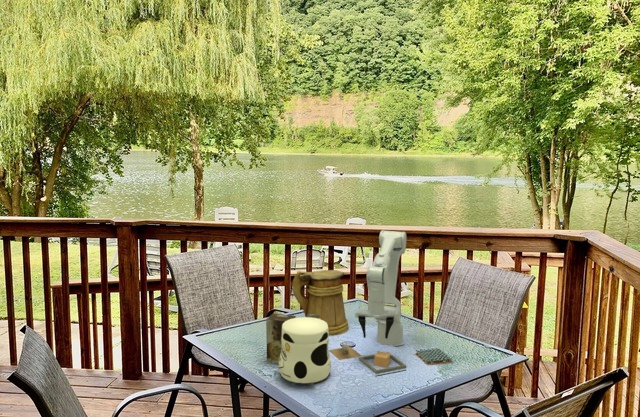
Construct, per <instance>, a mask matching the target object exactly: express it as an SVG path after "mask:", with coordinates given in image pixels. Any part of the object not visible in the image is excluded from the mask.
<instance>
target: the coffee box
mask: <svg viewBox="0 0 640 417" xmlns="http://www.w3.org/2000/svg"><path fill="white" fill-rule="evenodd" d="M293 318H297V317H296V315H290V314H282V313H272V314H270V315H269V316H267V318H265V326H266V328H265V329H266V330H265V331H266V362H267V363H271V364H272V363H273V364H276V365H277V364H278V365H279V358H280V354H281V349H282V342H281V337H282V325H283V323H284V322H285V321H287V320H289V319H293Z"/></svg>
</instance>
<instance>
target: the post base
mask: <svg viewBox="0 0 640 417" xmlns="http://www.w3.org/2000/svg"><path fill="white" fill-rule="evenodd" d="M328 351H329V353H331V354H332V355H334V357H335V358H337V359H338V360H339V361H342V360H346V359H352V358H353V359H354V358H359V357H362V355H361V354H360V353H359V352H357V350H355V349H354V348H353V347H352V346H349V345H348V344H342V345H341V348H334V349H328Z"/></svg>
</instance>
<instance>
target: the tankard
mask: <svg viewBox="0 0 640 417" xmlns="http://www.w3.org/2000/svg"><path fill="white" fill-rule="evenodd" d="M344 275H345V272H344V271H341V270H337V269H324V270H316V271H315V270H314V271H309V272H308V271H302V270H297V271H296V275H295V276H294V278H293V280H292V284H291V286H292V288H291V289H292V293H293V295H294V298H295V299H296V301H297V303H298V304H299V305H300V306H301V308H302V310H303V313H304V317H305V316H306V315H309V314H316V315H319V316H320V319H321V320H323V321H325V322H326V323H327V325H328V331H329V335H328V337H330V336H337V335H343V334H345V333H347V332H348V331H349V329H350V328H349V327H350V326H349V322H348V319H347V317H346V311H345V310H346V309H345V304H344V296H343V292H344V286H343V282H342V281H341V278H342V277H343V276H344ZM306 285H307V286H306ZM304 286H306V288H305V290H306V291H307V292H308V296H306V295H304V294H303V293H302V288H303V287H304Z"/></svg>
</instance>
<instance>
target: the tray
mask: <svg viewBox="0 0 640 417" xmlns="http://www.w3.org/2000/svg"><path fill="white" fill-rule="evenodd" d="M386 353H390V352H389V351H386ZM375 355H376V353H375V354H370V355H365V356H359V357H358V361H360V363H362V364H363V365H364V366H366V367H367V368H368V369H369V370H371V372H373V373H374V374H375V375H374V377H382V376H386V375H391V374H396V373H402V372H406V371H407V365H406V364H405V363H404V362H402V361H401V360H400V359H398V358H397V357H396V356H394V355H393V354H391V353H390V360H392V361H394V362H395V363H396V364H398V365H396V366H390V367H387V368H385V367H383V368H379V369H376V368H375V367H374V365H371V364H370V363H369V362H368V361H366V360H373V359H374V356H375ZM403 369H404V370H403Z"/></svg>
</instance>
